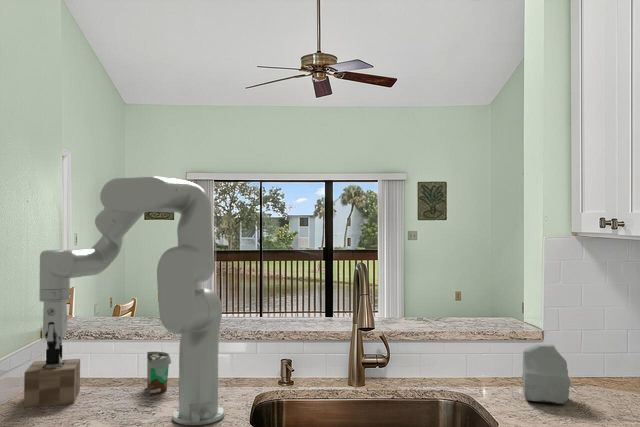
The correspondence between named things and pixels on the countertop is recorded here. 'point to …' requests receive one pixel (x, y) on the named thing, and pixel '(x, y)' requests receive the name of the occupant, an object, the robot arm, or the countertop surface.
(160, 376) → the food container
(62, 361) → the rook chess piece
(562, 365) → the stone
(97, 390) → the countertop surface
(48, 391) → the socket block
